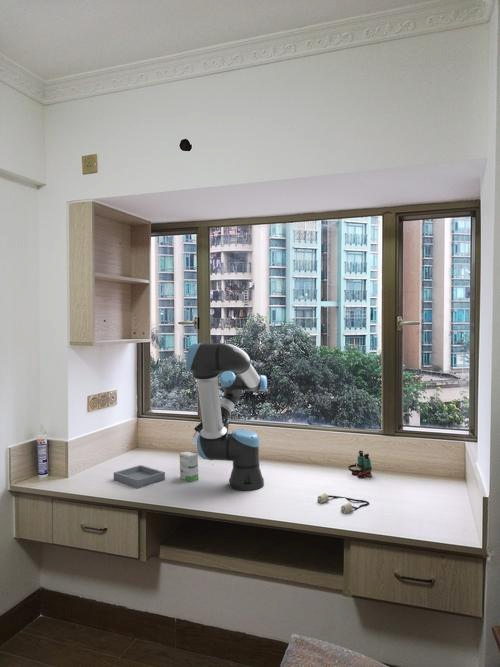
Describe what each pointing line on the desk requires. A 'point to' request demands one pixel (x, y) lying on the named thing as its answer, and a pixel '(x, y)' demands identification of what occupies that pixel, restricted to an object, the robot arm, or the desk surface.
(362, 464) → the binoculars
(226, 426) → the robot arm
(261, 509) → the desk surface
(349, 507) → the grey balls with cord
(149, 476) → the gray tray
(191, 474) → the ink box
